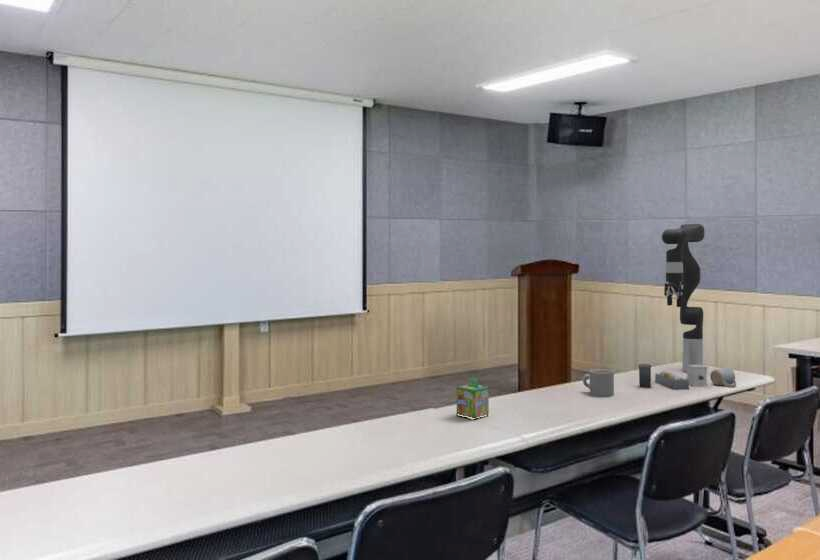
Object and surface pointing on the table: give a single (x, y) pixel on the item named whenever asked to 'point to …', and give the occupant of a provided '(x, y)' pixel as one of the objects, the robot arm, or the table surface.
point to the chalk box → (473, 399)
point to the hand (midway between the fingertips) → (674, 306)
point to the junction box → (697, 375)
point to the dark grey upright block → (645, 375)
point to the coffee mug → (600, 383)
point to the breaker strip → (671, 380)
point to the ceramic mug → (723, 377)
